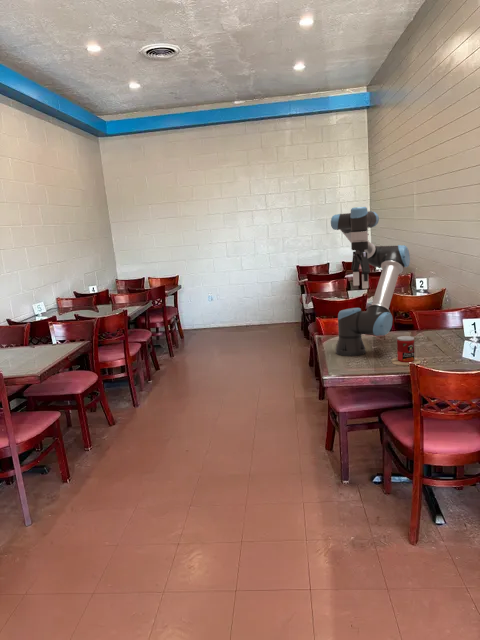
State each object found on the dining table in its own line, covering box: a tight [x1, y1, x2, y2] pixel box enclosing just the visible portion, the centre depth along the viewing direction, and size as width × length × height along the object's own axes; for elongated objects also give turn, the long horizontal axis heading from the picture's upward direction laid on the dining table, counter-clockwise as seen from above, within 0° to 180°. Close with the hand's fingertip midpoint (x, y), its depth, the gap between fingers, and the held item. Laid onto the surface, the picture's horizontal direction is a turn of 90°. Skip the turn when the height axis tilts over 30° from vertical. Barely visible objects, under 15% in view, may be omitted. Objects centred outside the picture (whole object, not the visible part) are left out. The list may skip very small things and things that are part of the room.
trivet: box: [391, 357, 422, 367], centre depth 226 cm, size 13×13×1 cm
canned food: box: [396, 335, 415, 362], centre depth 225 cm, size 8×8×11 cm
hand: (360, 287), depth 224 cm, fingers open, 13 cm apart
